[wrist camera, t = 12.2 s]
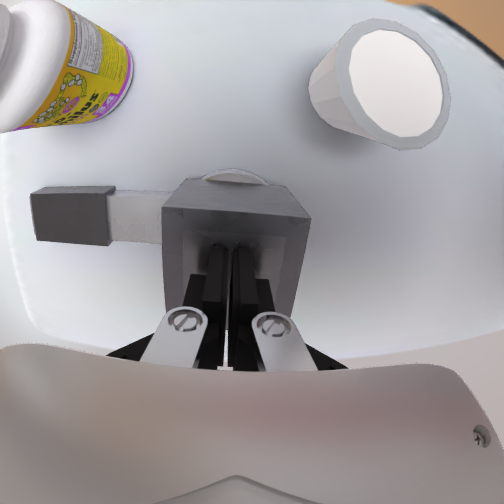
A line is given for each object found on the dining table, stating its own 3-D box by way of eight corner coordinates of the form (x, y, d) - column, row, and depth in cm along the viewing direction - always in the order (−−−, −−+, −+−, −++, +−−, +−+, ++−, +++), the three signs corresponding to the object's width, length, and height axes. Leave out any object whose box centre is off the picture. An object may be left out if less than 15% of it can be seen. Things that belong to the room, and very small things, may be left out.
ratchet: (287, 174, 18) (310, 195, 13) (273, 265, 21) (286, 315, 16) (39, 168, 16) (-10, 188, 11) (48, 247, 19) (10, 283, 14)
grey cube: (285, 186, 16) (311, 218, 11) (272, 273, 19) (286, 331, 14) (186, 178, 16) (161, 206, 10) (184, 266, 18) (167, 324, 13)
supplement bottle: (61, 132, 15) (-78, 170, 4) (60, 55, 12) (-67, 37, 1) (139, 111, 15) (-5, 108, 4) (137, 27, 12) (30, -54, 1)
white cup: (321, 152, 17) (366, 169, 11) (282, 61, 14) (309, 26, 8) (400, 126, 17) (464, 135, 10) (368, 42, 14) (424, 16, 7)
